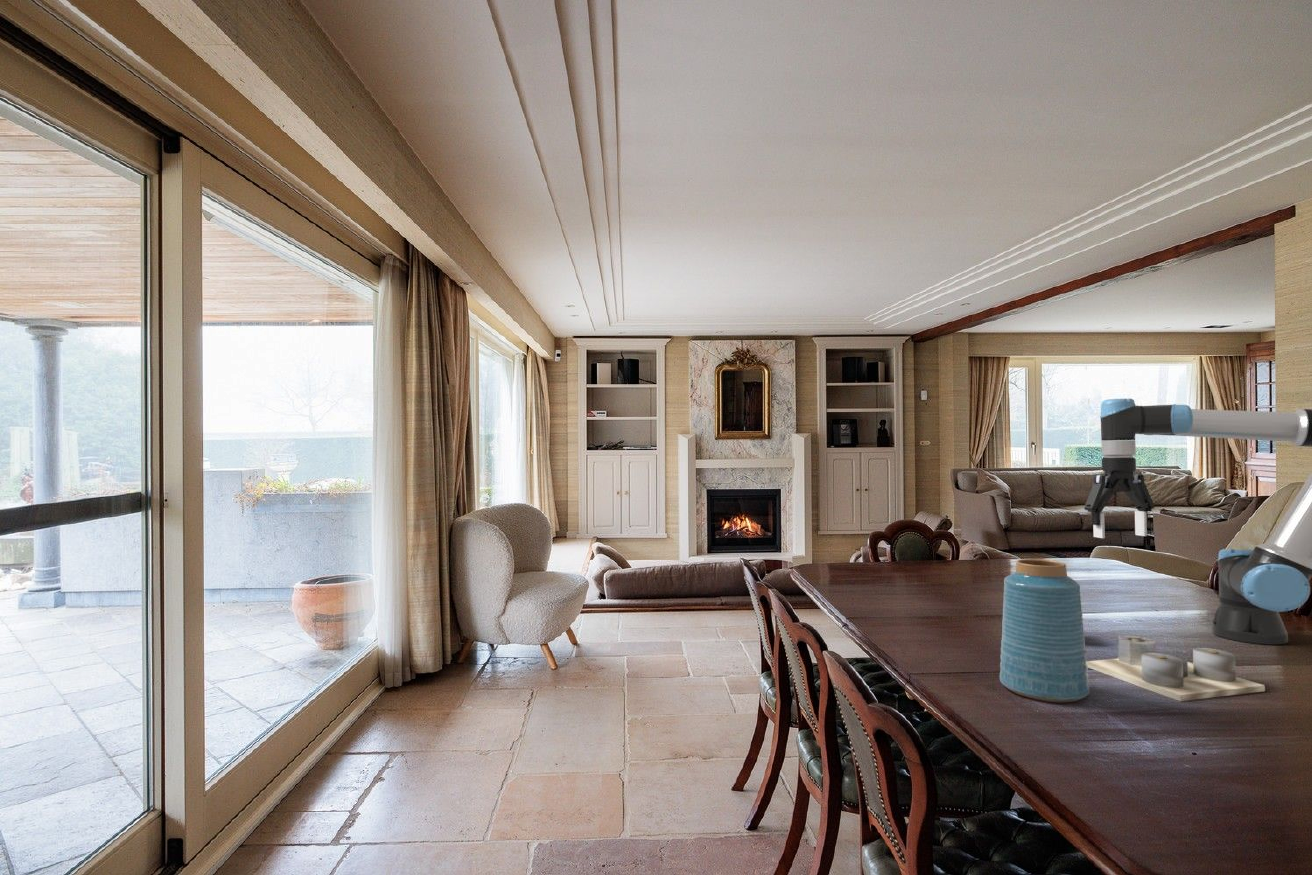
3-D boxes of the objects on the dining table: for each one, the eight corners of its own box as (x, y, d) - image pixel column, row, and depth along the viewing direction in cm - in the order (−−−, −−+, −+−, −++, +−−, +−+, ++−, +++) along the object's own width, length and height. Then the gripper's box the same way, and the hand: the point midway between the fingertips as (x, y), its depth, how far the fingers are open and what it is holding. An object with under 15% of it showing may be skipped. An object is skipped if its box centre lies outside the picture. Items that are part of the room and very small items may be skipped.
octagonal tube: (1135, 655, 159) (1134, 634, 159) (1163, 664, 152) (1163, 642, 152) (1110, 658, 158) (1110, 636, 158) (1138, 667, 151) (1138, 645, 151)
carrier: (1162, 658, 160) (1162, 631, 160) (1264, 691, 139) (1264, 659, 139) (1086, 666, 155) (1085, 638, 155) (1179, 701, 134) (1178, 668, 134)
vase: (1077, 681, 146) (1075, 557, 146) (1100, 708, 131) (1097, 571, 131) (994, 673, 151) (992, 554, 152) (1006, 699, 136) (1003, 567, 136)
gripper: (1143, 456, 186) (1145, 533, 185) (1067, 457, 180) (1069, 536, 180) (1169, 456, 178) (1171, 536, 178) (1091, 457, 173) (1093, 540, 172)
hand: (1120, 536), depth 179 cm, fingers open, 13 cm apart
